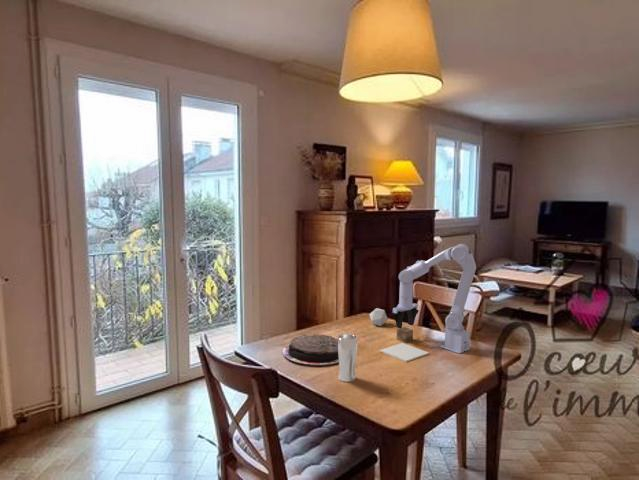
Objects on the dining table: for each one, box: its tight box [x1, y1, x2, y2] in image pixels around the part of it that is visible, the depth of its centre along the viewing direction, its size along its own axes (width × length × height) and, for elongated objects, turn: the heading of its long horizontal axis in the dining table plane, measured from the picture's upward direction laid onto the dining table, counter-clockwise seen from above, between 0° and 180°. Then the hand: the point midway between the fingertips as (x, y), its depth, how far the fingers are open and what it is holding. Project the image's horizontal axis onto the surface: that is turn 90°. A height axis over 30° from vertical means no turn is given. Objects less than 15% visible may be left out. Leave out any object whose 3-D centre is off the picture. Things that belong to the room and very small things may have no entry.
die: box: [369, 307, 389, 327], centre depth 209 cm, size 8×9×10 cm
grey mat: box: [379, 342, 430, 363], centre depth 172 cm, size 14×14×1 cm
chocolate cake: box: [282, 333, 339, 368], centre depth 170 cm, size 28×28×7 cm
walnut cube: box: [396, 326, 414, 344], centre depth 187 cm, size 5×5×5 cm
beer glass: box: [337, 333, 358, 383], centre depth 146 cm, size 7×7×15 cm
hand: (404, 326), depth 186 cm, fingers open, 7 cm apart
